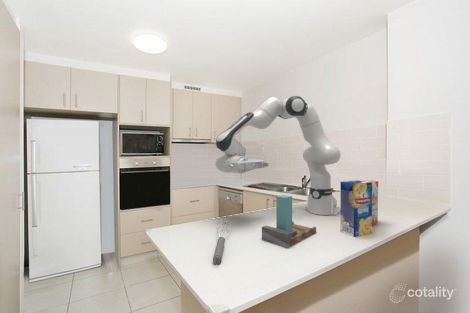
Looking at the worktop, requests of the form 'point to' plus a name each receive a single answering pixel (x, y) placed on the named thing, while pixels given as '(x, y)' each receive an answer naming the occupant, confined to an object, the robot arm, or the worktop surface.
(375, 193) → the cracker box
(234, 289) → the worktop surface
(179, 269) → the worktop surface
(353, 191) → the beverage box
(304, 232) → the track
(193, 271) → the worktop surface
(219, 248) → the kitchen whisk
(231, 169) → the robot arm
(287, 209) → the teal block on base
